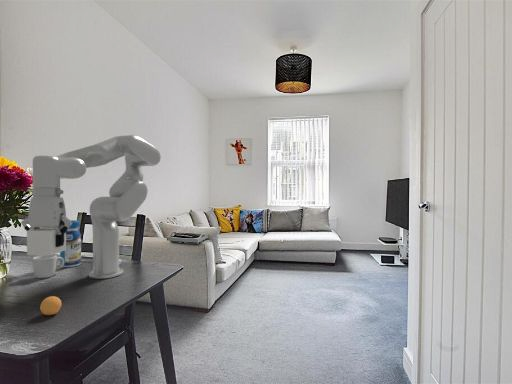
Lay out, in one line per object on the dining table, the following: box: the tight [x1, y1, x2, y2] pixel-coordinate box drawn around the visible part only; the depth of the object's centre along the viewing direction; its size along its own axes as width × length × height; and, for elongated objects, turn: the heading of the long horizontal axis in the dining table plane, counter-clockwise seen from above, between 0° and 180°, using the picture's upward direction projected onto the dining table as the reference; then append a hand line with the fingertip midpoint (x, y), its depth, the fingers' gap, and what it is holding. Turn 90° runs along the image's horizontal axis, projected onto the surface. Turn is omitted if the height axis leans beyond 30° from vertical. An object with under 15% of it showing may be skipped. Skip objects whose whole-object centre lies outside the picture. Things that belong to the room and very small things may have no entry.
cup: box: [31, 254, 64, 279], centre depth 122 cm, size 11×8×8 cm
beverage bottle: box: [59, 219, 82, 268], centre depth 138 cm, size 8×8×20 cm
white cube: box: [26, 228, 66, 256], centre depth 102 cm, size 8×8×8 cm
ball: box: [39, 295, 62, 316], centre depth 86 cm, size 5×5×5 cm
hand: (47, 245), depth 102 cm, fingers closed on white cube, 7 cm apart
